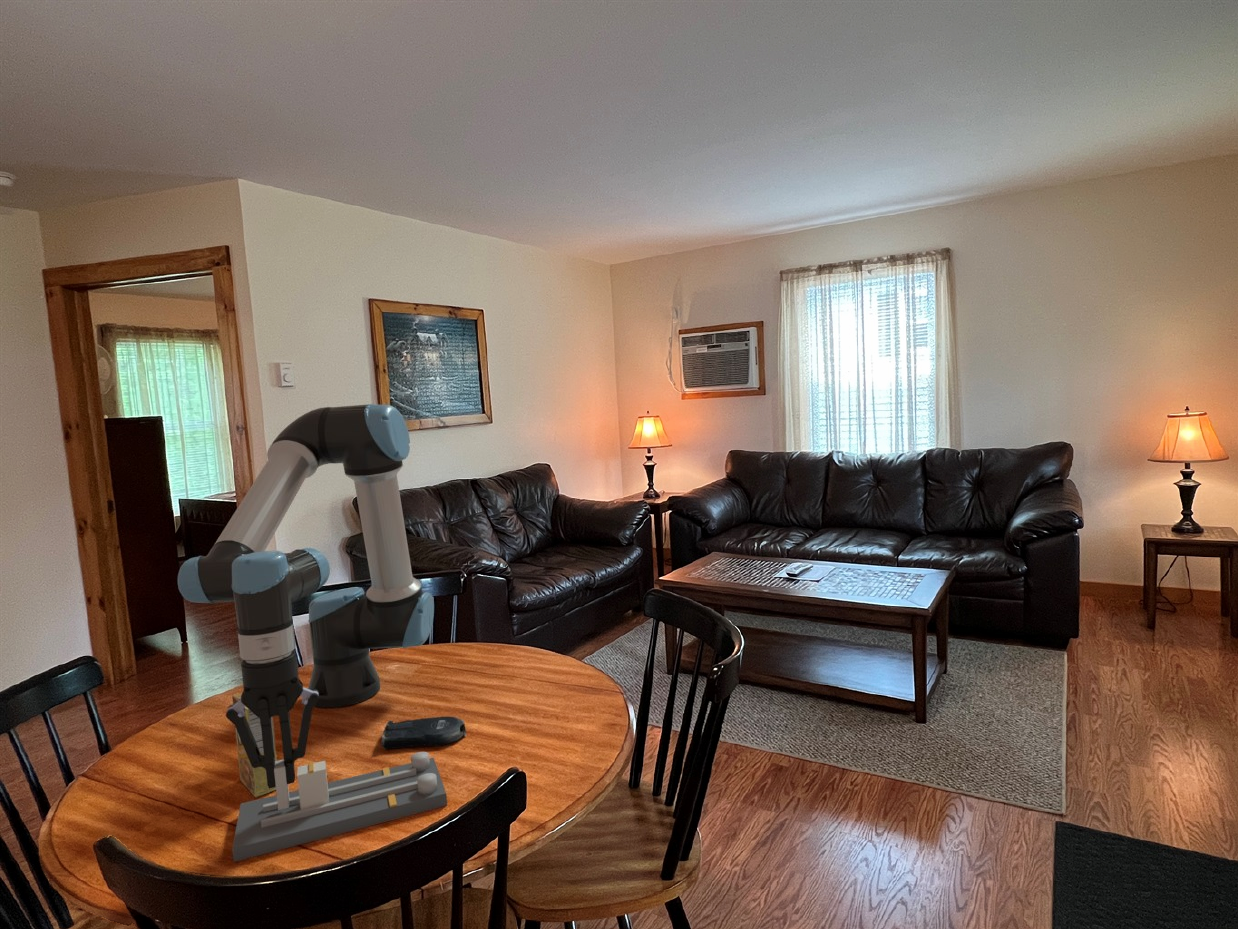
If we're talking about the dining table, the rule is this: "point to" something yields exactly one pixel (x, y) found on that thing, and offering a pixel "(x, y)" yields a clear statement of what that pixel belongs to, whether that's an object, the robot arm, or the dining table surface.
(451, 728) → the electronic device
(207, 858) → the dining table surface
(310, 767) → the fader tab
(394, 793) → the console board
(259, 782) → the candy box
